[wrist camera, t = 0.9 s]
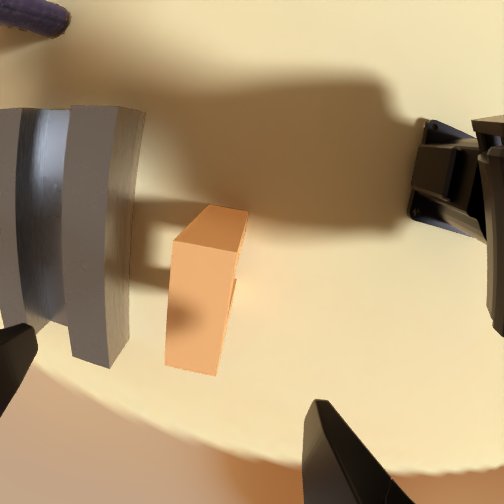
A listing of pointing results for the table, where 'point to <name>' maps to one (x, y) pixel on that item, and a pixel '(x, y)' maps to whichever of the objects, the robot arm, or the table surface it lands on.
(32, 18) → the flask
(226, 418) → the table surface
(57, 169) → the rail
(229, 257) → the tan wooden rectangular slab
